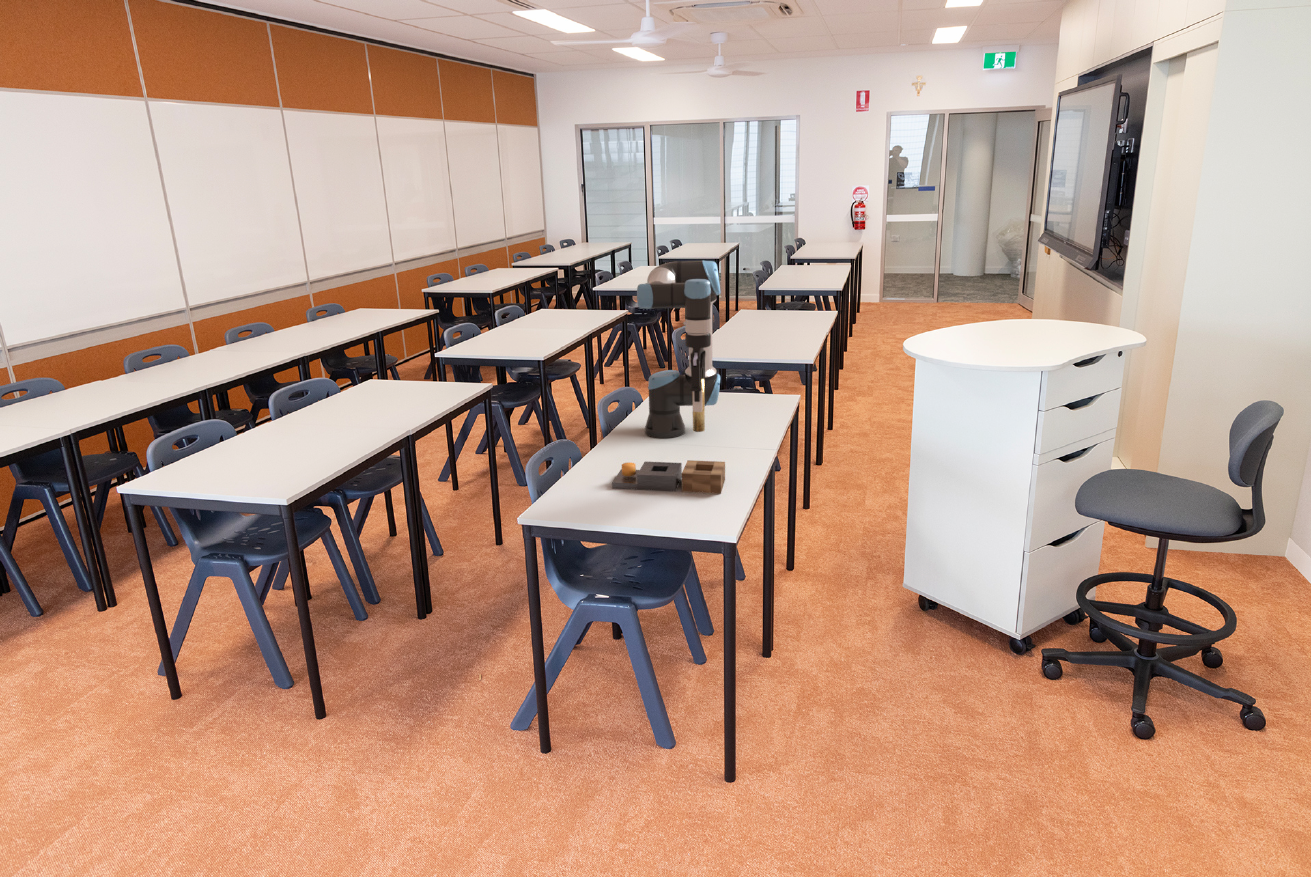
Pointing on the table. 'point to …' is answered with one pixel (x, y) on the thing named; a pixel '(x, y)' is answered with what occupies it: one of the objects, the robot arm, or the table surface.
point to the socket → (651, 477)
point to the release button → (628, 469)
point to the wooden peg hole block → (703, 476)
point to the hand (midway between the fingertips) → (698, 409)
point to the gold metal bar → (700, 414)
